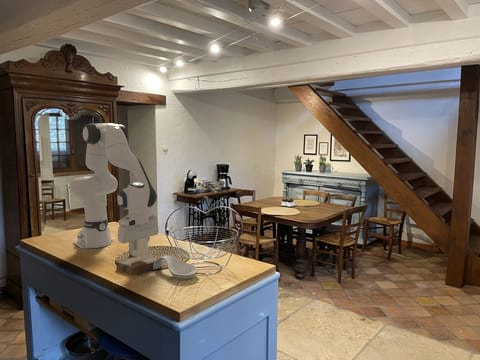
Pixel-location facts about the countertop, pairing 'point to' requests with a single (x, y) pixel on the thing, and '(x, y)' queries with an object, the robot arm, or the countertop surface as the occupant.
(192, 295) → the countertop surface
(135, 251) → the cream box
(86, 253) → the countertop surface
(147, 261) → the walnut block
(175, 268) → the spoon rest
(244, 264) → the countertop surface
